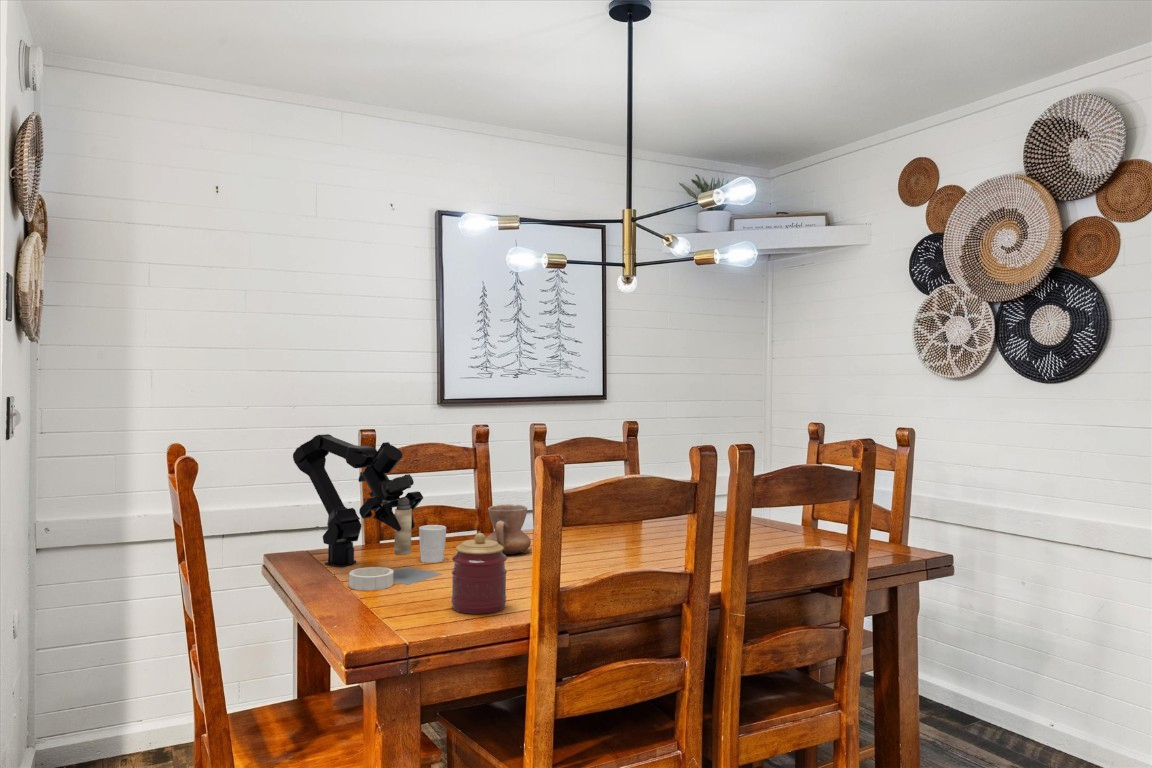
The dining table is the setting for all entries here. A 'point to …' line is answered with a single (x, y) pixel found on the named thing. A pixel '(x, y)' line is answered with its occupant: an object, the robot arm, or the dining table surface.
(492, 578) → the canister
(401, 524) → the pepper mill
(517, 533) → the ceramic jug
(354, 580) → the bowl
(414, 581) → the felt mat
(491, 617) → the dining table surface
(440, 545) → the white cup
